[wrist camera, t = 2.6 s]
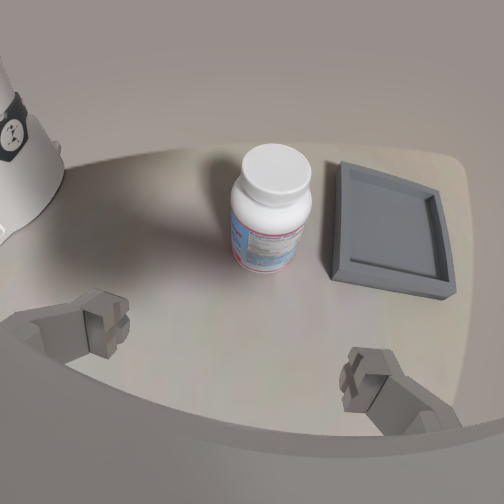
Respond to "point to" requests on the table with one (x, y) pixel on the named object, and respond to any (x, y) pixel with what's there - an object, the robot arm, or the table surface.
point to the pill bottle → (269, 207)
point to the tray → (390, 234)
